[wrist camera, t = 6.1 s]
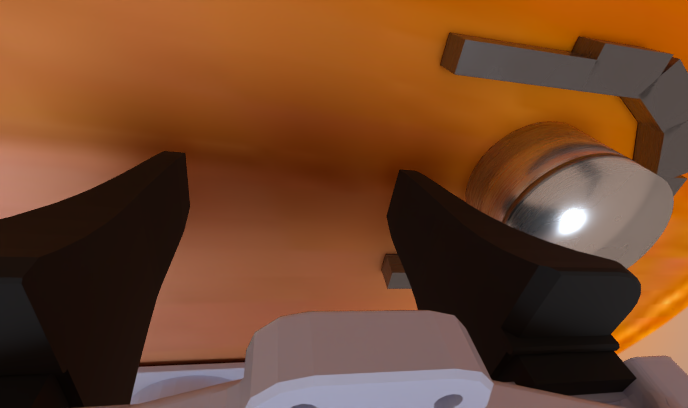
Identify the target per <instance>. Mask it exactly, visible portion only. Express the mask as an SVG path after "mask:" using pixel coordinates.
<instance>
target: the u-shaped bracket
mask: <svg viewBox="0 0 688 408" xmlns="http://www.w3.org/2000/svg"><path fill="white" fill-rule="evenodd" d="M672 56H673V54H669V53H664V52H660V51H656V50H652V49H648V48H644V47H638V46H632V45H626V44H620V43H615V42H609V41H603V40H597V39H591V38H585V37H579V38H578V40H577V42H576V45H575V47H574V49H573V51H572V52H569V51H562V50H556V49H550V48H543V47H537V46H531V45H524V44H518V43H512V42H505V41H499V40H493V39H486V38H480V37H474V36H467V35H461V34H455V33H449V37H448V40H447V44H446V47H445V51H444V54H443V58H442V61H441V66H443V67H444V68H446V69H447V70H449V71H450V72H452V73H453V74H456V75H464V76H471V77H479V78H486V79H494V80H501V81H509V82H516V83H524V84H531V85H539V86H547V87H554V88H562V89H569V90H577V91H584V92H592V93H599V94H607V95H614V96H620V97H621V99H622V100H623V102H624V103H625V104H626V106H627V107H628V108H629V110H630V111H631V113H632V114H633V115H634V117H635V118H636V120H637V121H638V130H637V137H636V145H635V152H634V159H633V161H635V162H636V163H638V164H640V165H641V166H643V167H644V168H646V169H648V170H650V171H651V172H653V173H655V174H657V175H658V176H660V177H662V178H663V179H664V180H665V181H666V182H667V183H668V184H669V186H670V188H671V190H672V193H673V196H674V195H675V194H676V192H677V191H678V190H679V189H680V187H681V186H682V185H683V184H684V182H685V181H686V180H687V178H685V177H683V176H682V174H685V173H687V172H688V73H687V71H686V69H685V67H684V66H683V64H682V62H681V60H680V59H678V58H674V57H672ZM381 270H382V273H383V276H384V280H385V283H386V286H387V289H412V288H411V286H410V283H409V281H408V278H407V276H406V273H405V271H404V268H403V266H402V263H401V261H400V258H399V256H398V254H386V255H385V259H384V262H383V266H382V269H381Z"/></svg>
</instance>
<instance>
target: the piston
mask: <svg viewBox="0 0 688 408" xmlns="http://www.w3.org/2000/svg"><path fill="white" fill-rule="evenodd" d="M466 203H468V204H469V205H471V206H473V207H474V208H476V209H478V210H479V211H481V212H483V213H485V214H487V215H488V216H490V217H492V218H494V219H496V220H498V221H500V222H502V223H504V224H506V225H509V226H511V227H513V228H515V229H517V230H520V231H522V232H525V233H527V234H530V235H532V236H535V237H537V238H540V239H543V240H546V241H548V242H551V243H554V244H557V245H560V246H563V247H567V248H570V249H573V250H576V251H580V252H584V253H587V254H591V255H595V256H599V257H603V258H607V259H610V260H614V261H617V262H619V263H620V264H622V265H623V266H624V267H625V268H626V269H627V268H629V267H630V266H631V265H633V264H634V263H635V262H636V261H637V260H639V259H640V258H641V257H642V256H643V255H644V254H645V253H646V252H647V251H648V250H649V249H650V248H651V247H652V246H653V245H654V244H655V242H656V241H657V240H658V238H659V237H660V236H661V234H662V233H663V231H664V229H665V228H666V226H667V224H668V222H669V220H670V217H671V214H672V210H673V203H674V201H673V193H672V190H671V188H670V186H669V184H668V183H667V182H666V181H665V180H664V179H663V178H662V177H660V176H658V175H657V174H655V173H653V172H651V171H650V170H648V169H646V168H644V167H643V166H641V165H640V164H638V163H636V162H635V161H633V160H631V159H629V158H628V157H625V156H623V155H622V154H620V153H618V152H616V151H615V150H613V149H611V148H609V147H608V146H606V145H604V144H602V143H601V142H599V141H597V140H595V139H594V138H592V137H590V136H588V135H587V134H585V133H583V132H581V131H580V130H578V129H576V128H574V127H573V126H571V125H568V124H565V123H561V122H549V121H548V122H539V123H535V124H531V125H528V126H525V127H522V128H520V129H518V130H516V131H514V132H512V133H510V134H509V135H507V136H505V137H504V138H502V139H501V140H500V141H498V142H497V143H496V144H495V145H494V146H493V147H491V148H490V149H489V150H488V151H487V152H486V154H485V155H484V156H483V157H482V158H481V160H480V161H479V162H478V164H477V165H476V167H475V168H474V170H473V172H472V174H471V176H470V178H469V182H468V185H467V189H466Z"/></svg>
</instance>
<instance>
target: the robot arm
mask: <svg viewBox="0 0 688 408" xmlns="http://www.w3.org/2000/svg"><path fill="white" fill-rule="evenodd" d="M189 208H190V201H189V190H188V179H187V167H186V156H185V153H181V152H168V151H164V152H161V153H159V154H157V155H155V156H153V157H152V158H150V159H148V160H146V161H144V162H143V163H141V164H139V165H137V166H135V167H134V168H132V169H130V170H128V171H126V172H125V173H123V174H121V175H119V176H117V177H115V178H113V179H111V180H109V181H107V182H105V183H103V184H101V185H98V186H96V187H94V188H92V189H90V190H88V191H85V192H83V193H80V194H78V195H76V196H73V197H70V198H68V199H65V200H62V201H60V202H57V203H54V204H51V205H48V206H45V207H41V208H38V209H35V210H31V211H28V212H25V213H21V214H18V215H15V216H11V217H8V218H4V219H0V408H688V375H687V374H686V373H685V372H684V371H683V370H682V369H681V368H680V367H679V366H678V365H677V364H676V363H675V362H674V361H673V360H672V359H671V358H670V357H668V356H648V357H635V358H630V359H628V360H626V361H624V362H622V360H621V359H620V358H619V357H618V356H617V354H616V353H615V352H614V351H617V350H618V349H619V343H618V342H617V341H616V340H615V339H614V338H613V336H612V335H611V333H612V332H613V331H614V330H615V329H616V328H617V326H618V325H619V324H620V323H621V322H622V321H623V320H624V319H625V317H626V316H627V315H628V314H629V313H630V312H631V311H632V309H633V308H634V307H635V305H636V304H637V302H638V299H639V297H640V294H641V284H640V282H639V280H638V279H637V278H636V277H635V276H634V275H633V274H632V273H631V272H630V271H629V270H627V269H626V268H625V267H624V266H623V265H622V264H620V263H619V262H617V261H614V260H610V259H607V258H603V257H599V256H595V255H591V254H587V253H584V252H580V251H576V250H573V249H570V248H567V247H563V246H560V245H557V244H554V243H551V242H548V241H546V240H543V239H540V238H537V237H535V236H532V235H530V234H527V233H525V232H522V231H520V230H517V229H515V228H513V227H511V226H509V225H506V224H504V223H502V222H500V221H498V220H496V219H494V218H492V217H490V216H488V215H487V214H485V213H483V212H481V211H479V210H478V209H476V208H474V207H473V206H471V205H469V204H468V203H466V202H464V201H463V200H461V199H460V198H458V197H456V196H455V195H453V194H452V193H450V192H449V191H447V190H446V189H444V188H443V187H441V186H440V185H438V184H437V183H435V182H434V181H432V180H431V179H429V178H428V177H426V176H424V175H423V174H421V173H419V172H417V171H412V170H399V173H398V177H397V180H396V184H395V187H394V191H393V195H392V198H391V202H390V205H389V209H388V213H387V220H388V225H389V230H390V234H391V238H392V241H393V243H394V246H395V248H396V251H397V253H398V256H399V258H400V261H401V263H402V266H403V268H404V271H405V273H406V276H407V278H408V281H409V283H410V286H411V288H412V291H413V294H414V297H415V300H416V304H417V308H418V310H391V311H307V312H302V313H296V314H291V315H286V316H281V317H279V318H277V319H276V320H274V321H272V322H271V323H269V324H268V325H266V326H264V327H263V328H261V329H260V330H258V331H256V332H255V333H254V335H253V337H252V339H251V341H250V344H249V346H248V348H247V350H246V358H245V362H238V363H215V364H192V365H169V366H146V367H139V363H140V359H141V355H142V351H143V347H144V343H145V340H146V336H147V332H148V328H149V324H150V321H151V317H152V314H153V310H154V307H155V303H156V300H157V296H158V294H159V291H160V288H161V285H162V283H163V281H164V278H165V276H166V273H167V271H168V269H169V266H170V264H171V261H172V259H173V257H174V254H175V252H176V250H177V247H178V245H179V242H180V240H181V237H182V235H183V232H184V229H185V225H186V221H187V217H188V213H189Z"/></svg>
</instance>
